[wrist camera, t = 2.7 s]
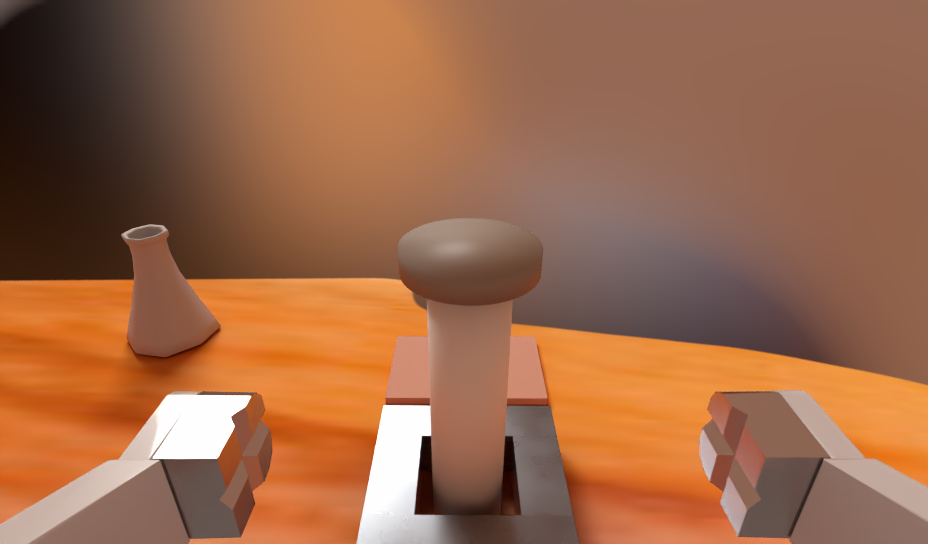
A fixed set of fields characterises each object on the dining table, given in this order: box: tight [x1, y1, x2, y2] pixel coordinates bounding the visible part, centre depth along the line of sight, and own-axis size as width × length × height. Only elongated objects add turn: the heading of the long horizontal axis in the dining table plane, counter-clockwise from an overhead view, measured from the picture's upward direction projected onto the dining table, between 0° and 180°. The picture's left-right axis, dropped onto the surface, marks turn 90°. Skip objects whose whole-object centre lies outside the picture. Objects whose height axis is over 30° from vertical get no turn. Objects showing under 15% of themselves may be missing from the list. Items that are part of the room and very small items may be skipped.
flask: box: [121, 225, 220, 357], centre depth 45 cm, size 7×7×10 cm
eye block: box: [357, 405, 579, 544], centre depth 31 cm, size 11×11×3 cm
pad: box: [385, 336, 548, 405], centre depth 43 cm, size 12×8×1 cm, turn 90°
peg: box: [398, 218, 543, 515], centre depth 28 cm, size 6×6×17 cm
